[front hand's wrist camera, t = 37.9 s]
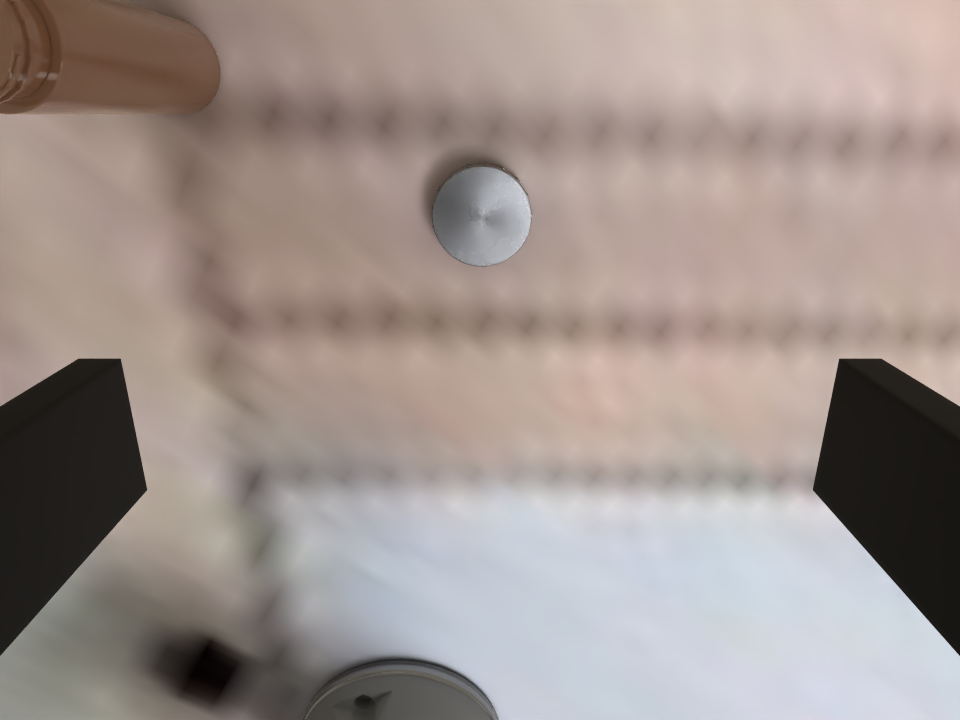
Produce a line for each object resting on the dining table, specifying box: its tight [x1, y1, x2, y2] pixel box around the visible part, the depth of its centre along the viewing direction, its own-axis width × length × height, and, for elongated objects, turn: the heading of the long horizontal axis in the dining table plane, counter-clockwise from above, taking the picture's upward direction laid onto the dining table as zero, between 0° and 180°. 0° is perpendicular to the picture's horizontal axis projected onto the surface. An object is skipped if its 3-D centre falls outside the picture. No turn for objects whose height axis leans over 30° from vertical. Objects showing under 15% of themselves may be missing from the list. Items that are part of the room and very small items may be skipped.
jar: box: [0, 0, 220, 114], centre depth 27 cm, size 5×5×16 cm
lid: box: [432, 162, 532, 266], centre depth 36 cm, size 5×5×2 cm
